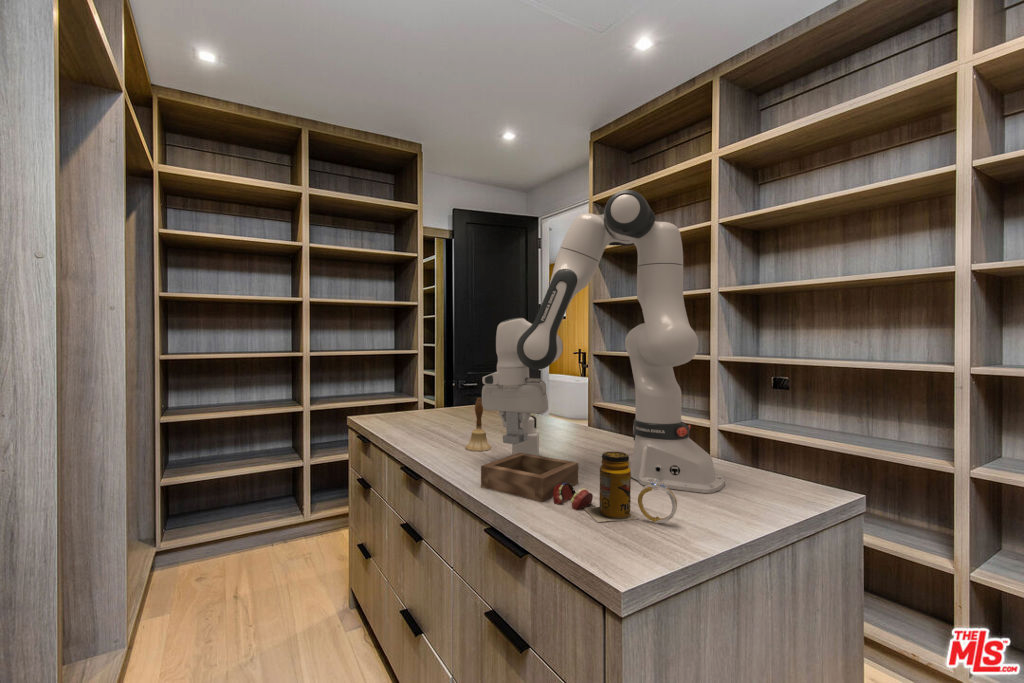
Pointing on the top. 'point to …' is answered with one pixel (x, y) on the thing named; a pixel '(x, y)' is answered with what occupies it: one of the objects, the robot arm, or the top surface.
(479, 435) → the hand bell
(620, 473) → the condiment
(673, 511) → the bracelet
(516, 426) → the stepped grey peg
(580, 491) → the dentures model
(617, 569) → the top surface
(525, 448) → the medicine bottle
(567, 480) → the open wooden box
